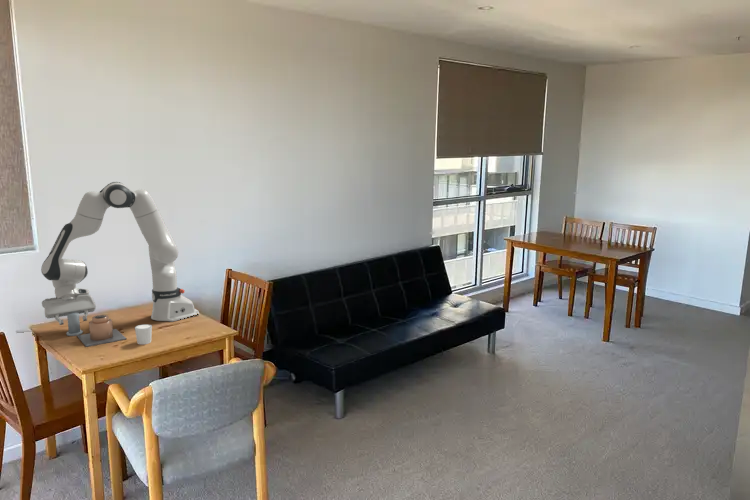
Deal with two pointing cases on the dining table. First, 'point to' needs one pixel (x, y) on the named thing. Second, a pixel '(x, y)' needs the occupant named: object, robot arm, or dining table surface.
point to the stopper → (73, 324)
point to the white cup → (143, 334)
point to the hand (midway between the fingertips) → (73, 322)
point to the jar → (100, 332)
